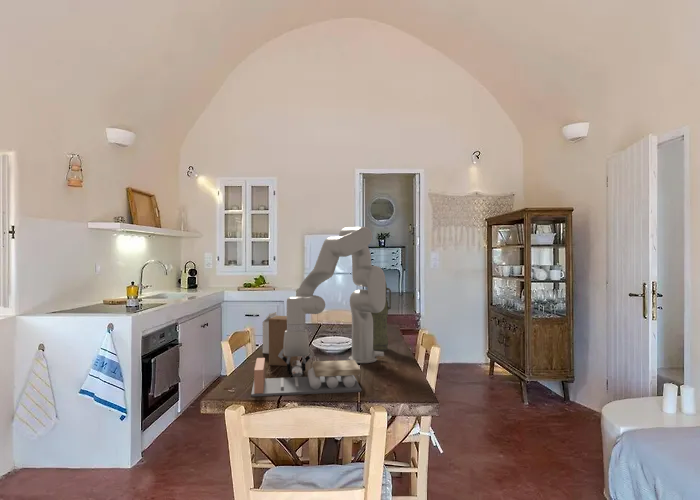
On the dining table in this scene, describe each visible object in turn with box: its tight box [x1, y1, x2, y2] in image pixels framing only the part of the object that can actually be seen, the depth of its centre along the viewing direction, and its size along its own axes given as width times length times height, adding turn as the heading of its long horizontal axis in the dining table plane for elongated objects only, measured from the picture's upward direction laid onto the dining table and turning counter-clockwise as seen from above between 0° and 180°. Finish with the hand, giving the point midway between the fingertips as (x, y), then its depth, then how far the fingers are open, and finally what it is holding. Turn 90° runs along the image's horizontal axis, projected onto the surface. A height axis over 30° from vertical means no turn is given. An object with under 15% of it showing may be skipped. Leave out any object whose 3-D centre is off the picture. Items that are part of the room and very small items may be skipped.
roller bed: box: [250, 357, 363, 397], centre depth 175 cm, size 38×19×9 cm, turn 98°
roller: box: [291, 359, 304, 377], centre depth 192 cm, size 4×14×4 cm, turn 8°
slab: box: [312, 359, 361, 377], centre depth 176 cm, size 16×14×2 cm
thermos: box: [371, 280, 392, 352], centre depth 238 cm, size 9×12×35 cm
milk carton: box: [262, 312, 279, 355], centre depth 230 cm, size 7×7×19 cm
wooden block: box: [268, 315, 299, 367], centre depth 209 cm, size 10×10×20 cm
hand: (296, 372), depth 192 cm, fingers open, 4 cm apart
